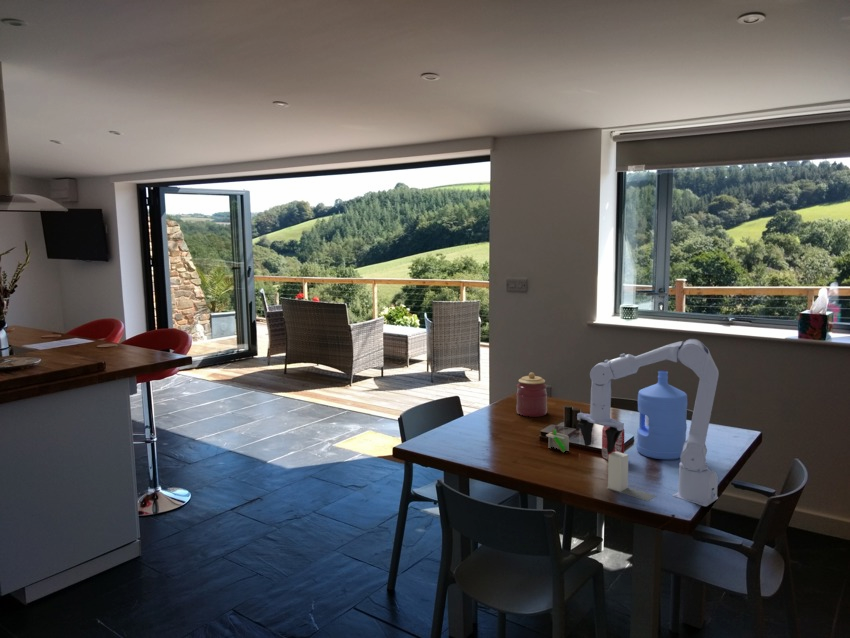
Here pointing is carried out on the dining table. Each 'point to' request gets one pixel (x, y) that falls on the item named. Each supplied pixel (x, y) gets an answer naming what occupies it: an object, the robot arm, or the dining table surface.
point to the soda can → (618, 445)
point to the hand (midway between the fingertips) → (598, 448)
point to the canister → (531, 396)
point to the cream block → (618, 471)
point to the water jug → (662, 420)
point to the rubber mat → (636, 494)
